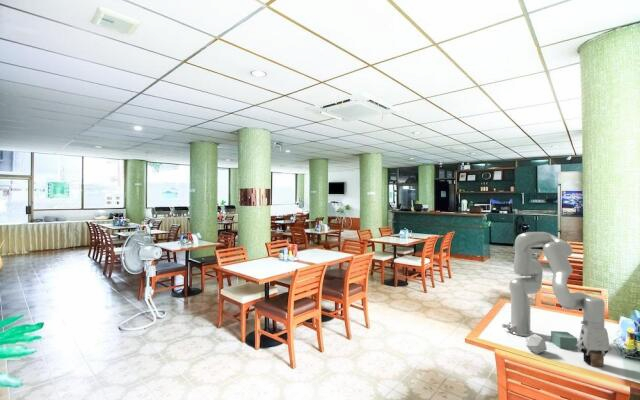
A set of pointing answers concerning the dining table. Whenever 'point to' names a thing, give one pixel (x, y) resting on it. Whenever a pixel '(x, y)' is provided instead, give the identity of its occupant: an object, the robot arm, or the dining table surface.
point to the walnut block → (596, 358)
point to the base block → (563, 340)
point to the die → (535, 344)
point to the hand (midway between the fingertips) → (593, 362)
